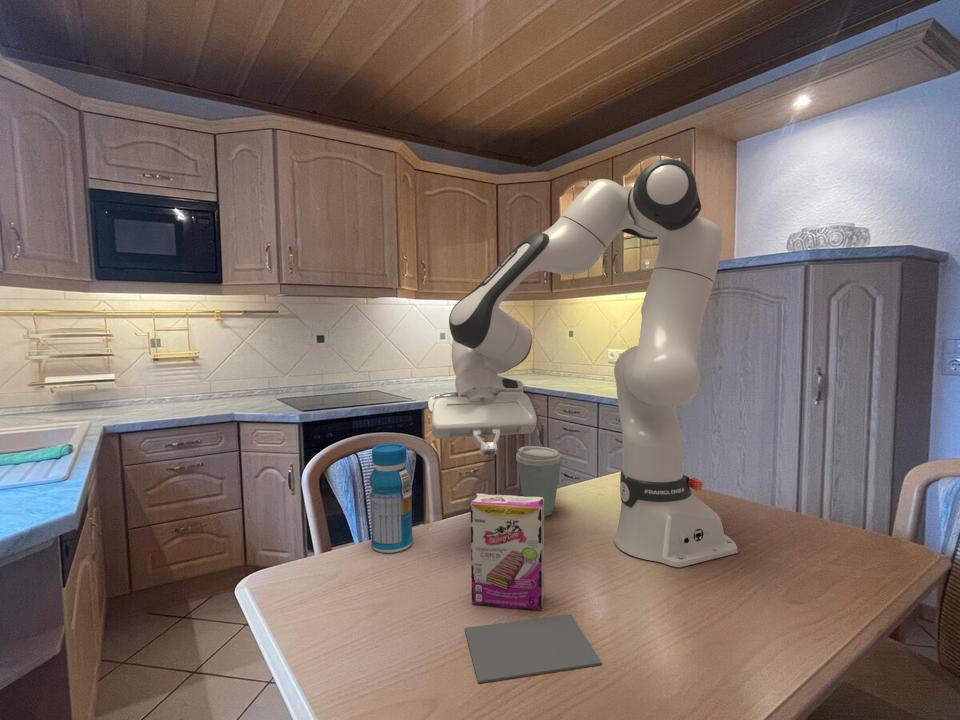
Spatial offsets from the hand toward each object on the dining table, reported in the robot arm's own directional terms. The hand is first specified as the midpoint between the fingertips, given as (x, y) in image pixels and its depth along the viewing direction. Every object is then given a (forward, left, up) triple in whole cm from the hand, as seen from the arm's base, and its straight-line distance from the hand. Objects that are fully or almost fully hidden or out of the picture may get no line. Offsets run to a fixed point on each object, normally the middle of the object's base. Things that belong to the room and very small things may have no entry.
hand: (489, 453), depth 90 cm
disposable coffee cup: (-16, -22, -21) cm, 34 cm away
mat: (0, +25, -20) cm, 32 cm away
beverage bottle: (+18, -12, -21) cm, 30 cm away
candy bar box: (0, +13, -21) cm, 25 cm away
